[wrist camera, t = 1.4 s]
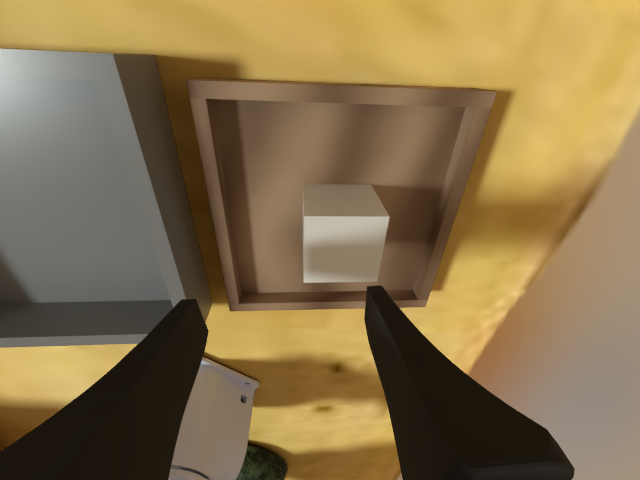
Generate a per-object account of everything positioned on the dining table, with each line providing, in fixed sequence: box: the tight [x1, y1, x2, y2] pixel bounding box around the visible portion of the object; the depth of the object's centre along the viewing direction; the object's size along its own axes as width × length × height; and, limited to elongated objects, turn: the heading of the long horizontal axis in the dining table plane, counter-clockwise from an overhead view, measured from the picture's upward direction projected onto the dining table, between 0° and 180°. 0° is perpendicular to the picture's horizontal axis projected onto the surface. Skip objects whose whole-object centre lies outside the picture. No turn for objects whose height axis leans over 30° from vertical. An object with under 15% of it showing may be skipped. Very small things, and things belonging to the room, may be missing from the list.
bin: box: [0, 48, 212, 348], centre depth 17 cm, size 18×18×4 cm
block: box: [303, 184, 390, 283], centre depth 18 cm, size 4×4×4 cm
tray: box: [186, 78, 497, 311], centre depth 20 cm, size 16×16×2 cm
